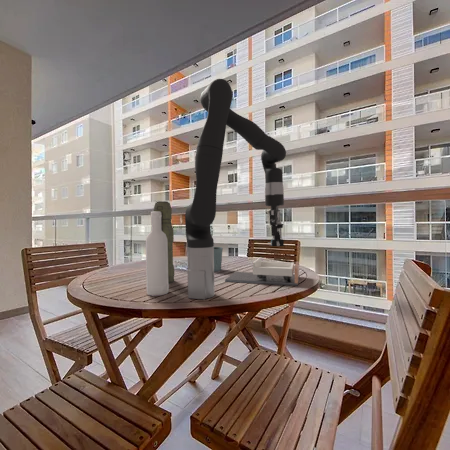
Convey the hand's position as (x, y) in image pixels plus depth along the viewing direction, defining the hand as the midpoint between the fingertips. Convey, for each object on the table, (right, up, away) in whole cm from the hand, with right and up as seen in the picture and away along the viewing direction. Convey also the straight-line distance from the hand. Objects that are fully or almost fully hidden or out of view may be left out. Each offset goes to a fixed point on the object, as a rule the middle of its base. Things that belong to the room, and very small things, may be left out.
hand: (275, 235), depth 106 cm
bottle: (-46, -21, -11) cm, 51 cm away
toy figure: (0, -5, 0) cm, 5 cm away
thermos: (-47, -21, +6) cm, 52 cm away
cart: (+1, -18, +6) cm, 20 cm away
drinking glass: (-27, -20, +31) cm, 46 cm away
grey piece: (-4, -20, +8) cm, 22 cm away
